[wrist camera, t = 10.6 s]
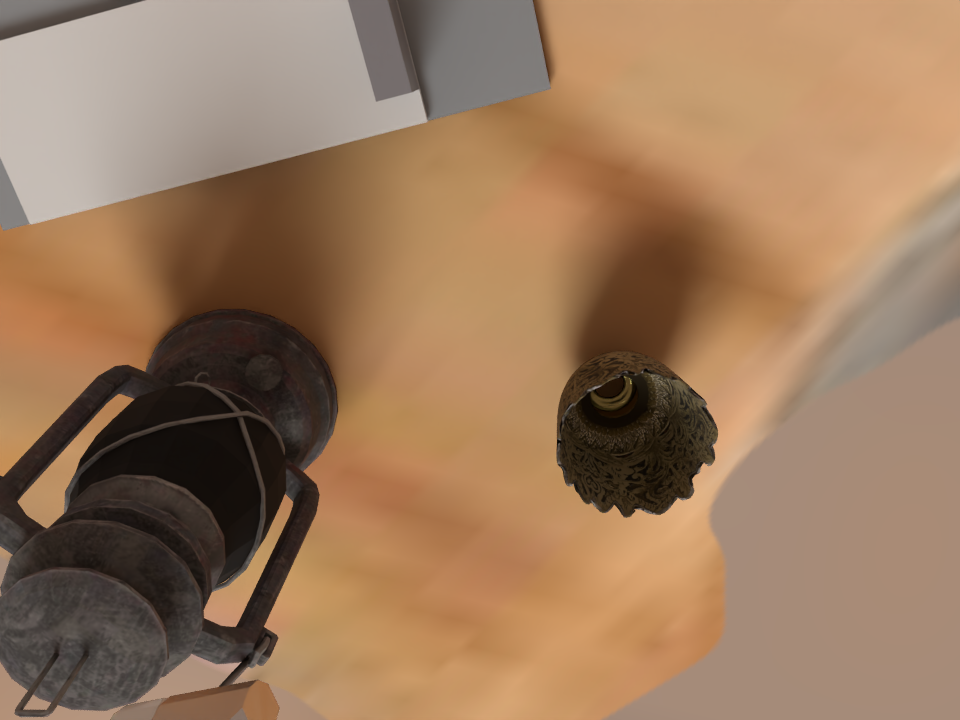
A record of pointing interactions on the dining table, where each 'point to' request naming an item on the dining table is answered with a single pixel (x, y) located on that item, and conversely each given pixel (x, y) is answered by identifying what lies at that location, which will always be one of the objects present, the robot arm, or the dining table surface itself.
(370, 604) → the dining table surface
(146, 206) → the dining table surface
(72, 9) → the slate board
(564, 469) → the dark ornate pot
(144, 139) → the grey strip
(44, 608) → the lantern
